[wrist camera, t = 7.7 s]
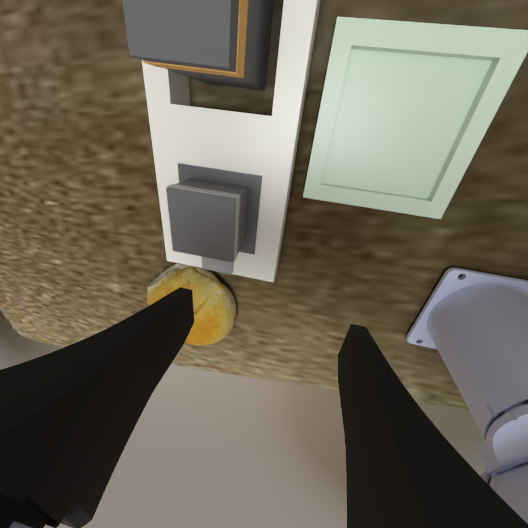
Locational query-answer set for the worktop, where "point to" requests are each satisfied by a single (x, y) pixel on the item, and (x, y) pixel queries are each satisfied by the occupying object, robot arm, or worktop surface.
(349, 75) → the tray
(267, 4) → the plug
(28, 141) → the worktop surface
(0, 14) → the worktop surface
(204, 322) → the bread roll
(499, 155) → the worktop surface
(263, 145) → the strip
